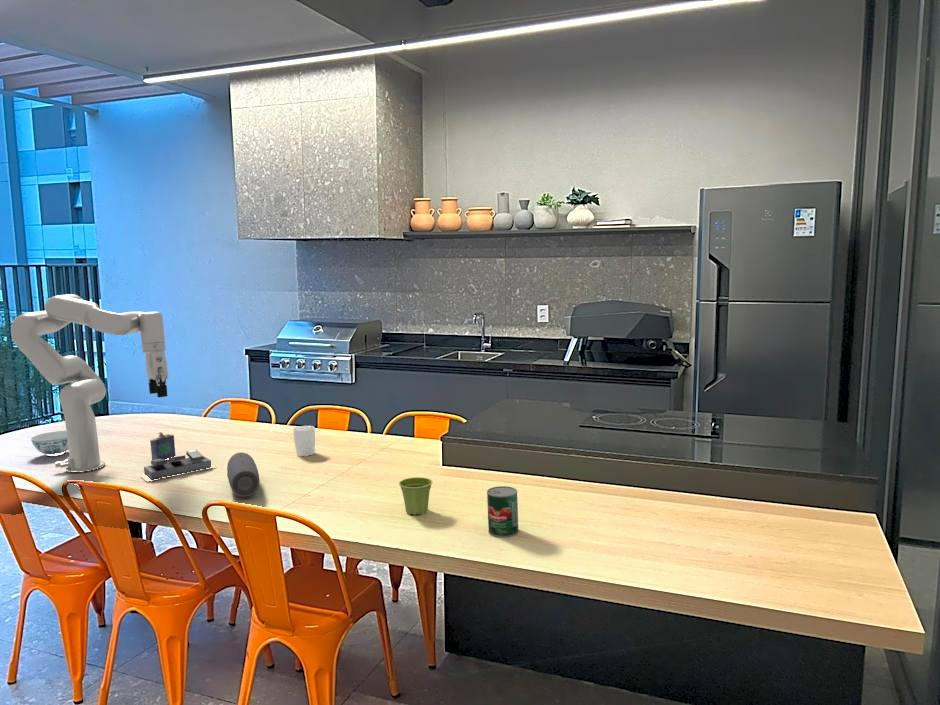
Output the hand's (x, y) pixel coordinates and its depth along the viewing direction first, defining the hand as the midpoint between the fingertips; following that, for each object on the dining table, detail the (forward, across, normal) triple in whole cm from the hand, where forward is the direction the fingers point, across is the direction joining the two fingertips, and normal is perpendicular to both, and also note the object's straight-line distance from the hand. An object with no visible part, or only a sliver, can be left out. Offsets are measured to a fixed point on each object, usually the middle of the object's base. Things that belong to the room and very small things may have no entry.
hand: (158, 394), depth 253 cm
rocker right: (+22, -10, -8) cm, 25 cm away
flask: (+27, +9, -2) cm, 28 cm away
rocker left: (+22, -10, +4) cm, 25 cm away
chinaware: (+26, +50, +27) cm, 63 cm away
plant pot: (+26, -101, -40) cm, 112 cm away
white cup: (+26, -22, -44) cm, 56 cm away
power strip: (+26, -10, -2) cm, 28 cm away
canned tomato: (+26, -129, -48) cm, 140 cm away
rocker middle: (+22, -10, -2) cm, 24 cm away
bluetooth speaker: (+27, -46, -11) cm, 54 cm away
